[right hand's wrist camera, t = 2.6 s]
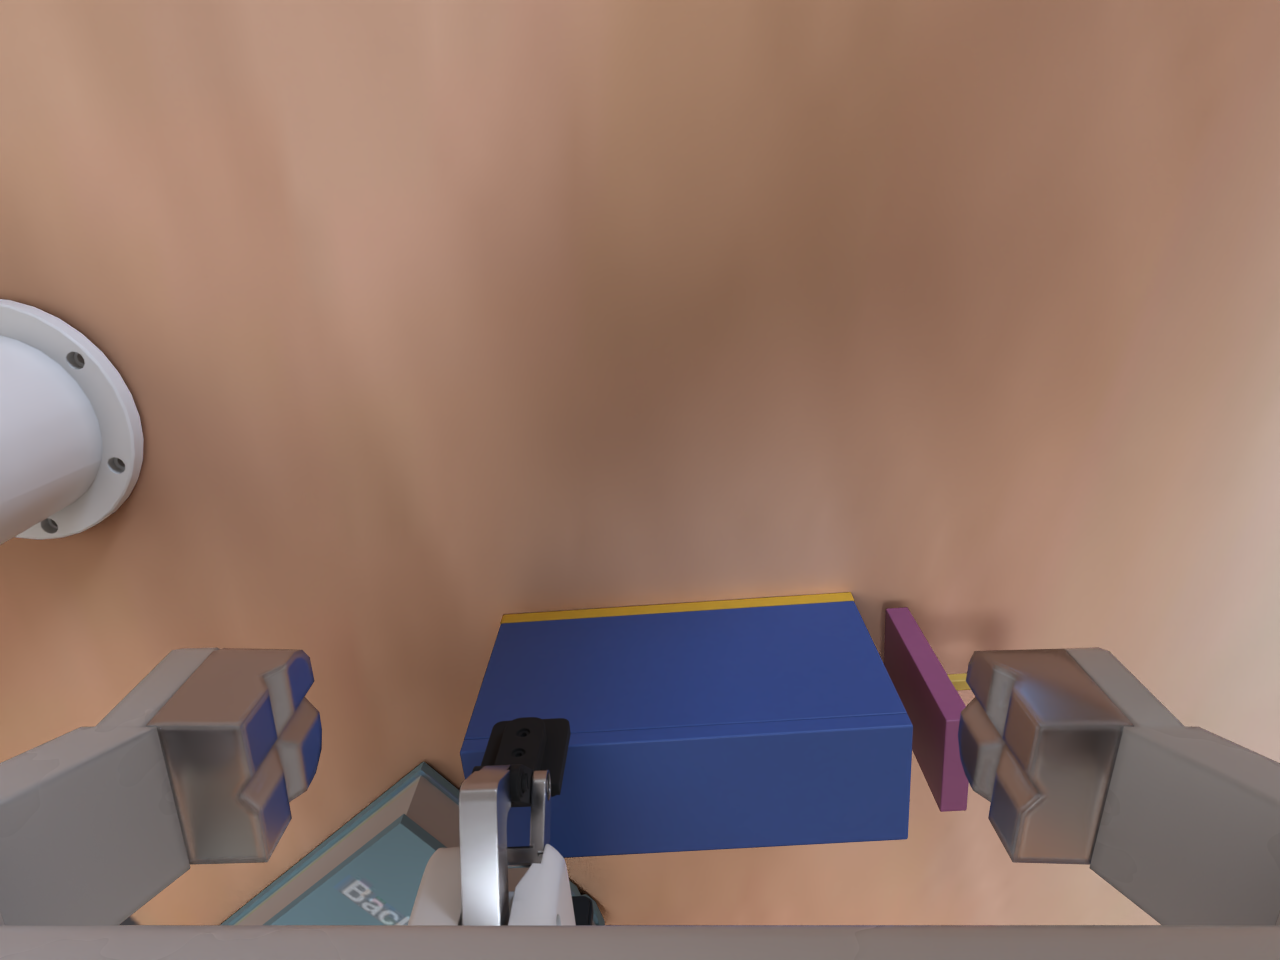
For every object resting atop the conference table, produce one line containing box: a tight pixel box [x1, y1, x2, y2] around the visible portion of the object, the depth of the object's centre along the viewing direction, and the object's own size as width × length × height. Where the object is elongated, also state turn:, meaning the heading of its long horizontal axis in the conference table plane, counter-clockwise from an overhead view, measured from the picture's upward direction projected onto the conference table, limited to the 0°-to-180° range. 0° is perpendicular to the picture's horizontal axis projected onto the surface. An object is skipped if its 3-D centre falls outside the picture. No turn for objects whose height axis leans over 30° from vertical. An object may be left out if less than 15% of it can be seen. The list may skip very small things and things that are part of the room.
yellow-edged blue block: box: [460, 592, 913, 858], centre depth 42 cm, size 20×6×12 cm, turn 94°
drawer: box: [884, 607, 971, 812], centre depth 41 cm, size 23×5×10 cm, turn 94°
